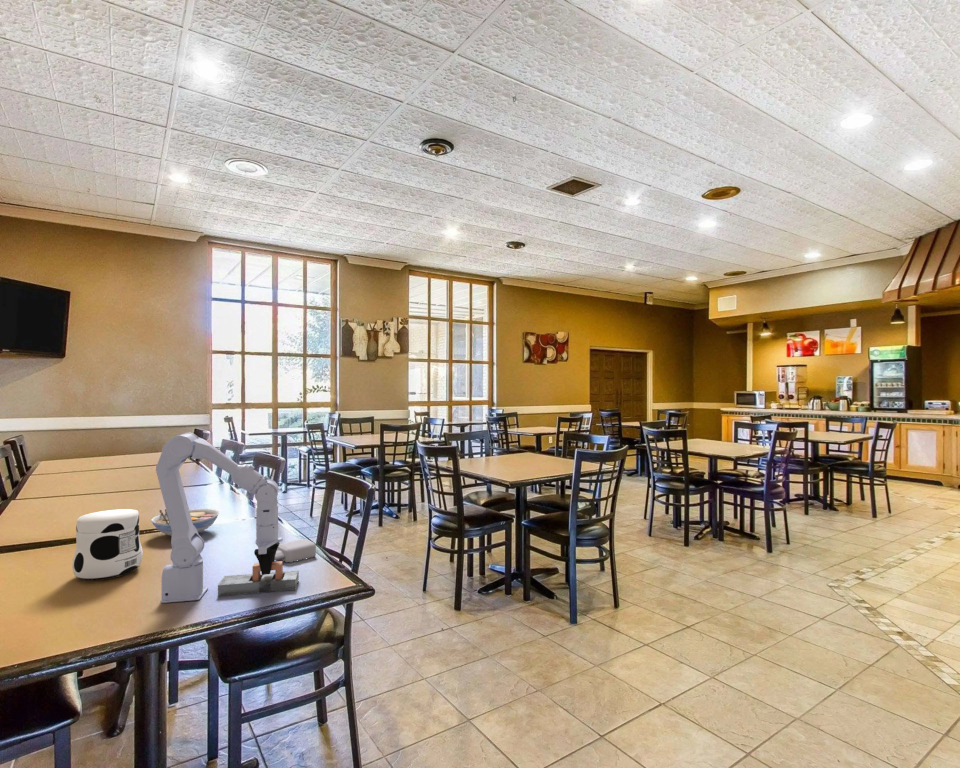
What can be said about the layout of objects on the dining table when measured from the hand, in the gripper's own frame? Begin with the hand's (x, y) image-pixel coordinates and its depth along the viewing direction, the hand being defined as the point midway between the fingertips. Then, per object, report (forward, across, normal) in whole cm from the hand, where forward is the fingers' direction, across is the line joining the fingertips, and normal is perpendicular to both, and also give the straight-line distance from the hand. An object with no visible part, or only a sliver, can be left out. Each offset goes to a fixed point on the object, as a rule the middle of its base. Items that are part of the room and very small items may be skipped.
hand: (267, 571), depth 147 cm
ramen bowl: (+5, +62, +40) cm, 74 cm away
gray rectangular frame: (+4, 0, +2) cm, 5 cm away
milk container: (+5, +22, +49) cm, 54 cm away
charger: (+5, +24, -2) cm, 25 cm away
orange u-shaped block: (+3, 0, 0) cm, 3 cm away
